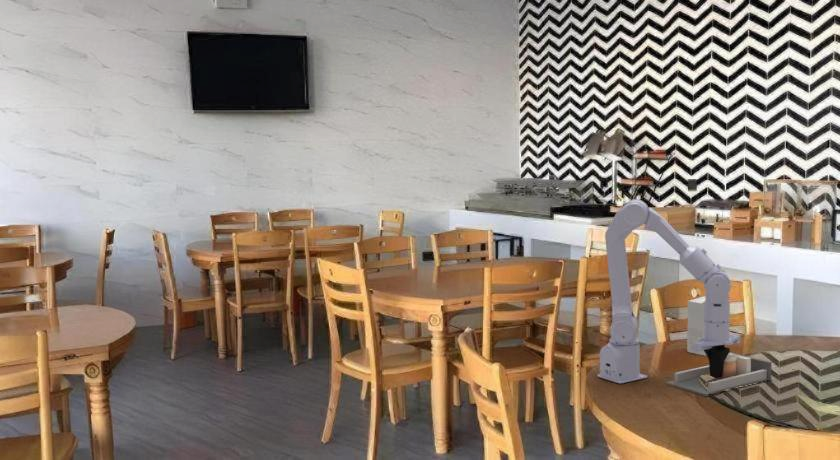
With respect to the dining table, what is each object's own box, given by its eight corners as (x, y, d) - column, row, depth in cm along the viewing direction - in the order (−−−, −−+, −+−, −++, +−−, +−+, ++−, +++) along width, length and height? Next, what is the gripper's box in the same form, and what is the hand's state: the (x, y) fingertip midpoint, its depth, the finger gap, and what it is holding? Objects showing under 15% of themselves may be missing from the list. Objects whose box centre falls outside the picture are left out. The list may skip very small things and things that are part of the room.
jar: (723, 381, 189) (724, 358, 189) (709, 376, 194) (710, 354, 194) (740, 380, 191) (741, 357, 190) (726, 374, 196) (727, 352, 195)
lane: (706, 396, 180) (706, 377, 180) (665, 384, 191) (665, 365, 190) (772, 379, 192) (772, 361, 192) (730, 369, 202) (731, 351, 202)
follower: (746, 379, 190) (746, 359, 190) (718, 372, 197) (719, 352, 197) (750, 378, 191) (750, 358, 191) (722, 371, 198) (723, 351, 197)
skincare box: (702, 347, 226) (702, 295, 224) (722, 351, 221) (722, 298, 220) (686, 352, 220) (686, 299, 219) (705, 356, 216) (706, 302, 214)
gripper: (709, 327, 182) (709, 385, 184) (751, 319, 190) (750, 375, 191) (685, 322, 188) (685, 378, 190) (726, 315, 196) (726, 369, 197)
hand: (716, 376), depth 191 cm, fingers closed, pressing on jar
